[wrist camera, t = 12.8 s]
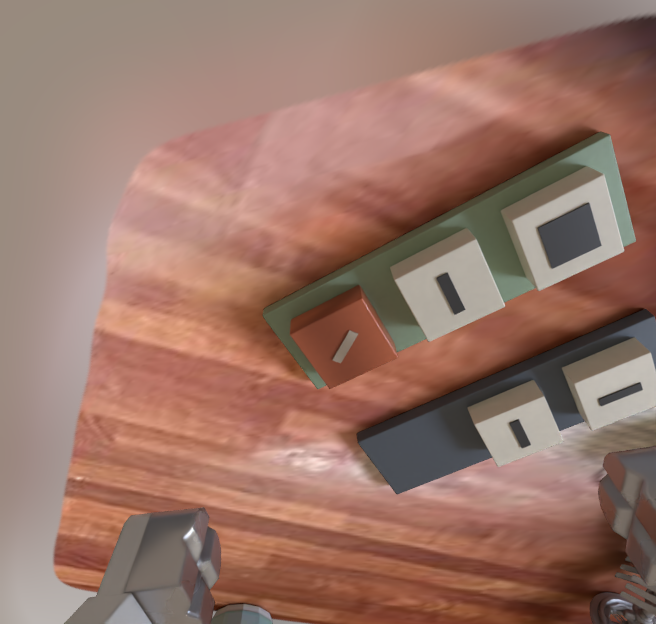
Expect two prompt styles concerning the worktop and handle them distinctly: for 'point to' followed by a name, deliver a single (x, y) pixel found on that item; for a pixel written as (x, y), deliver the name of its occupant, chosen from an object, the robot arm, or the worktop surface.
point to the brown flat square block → (343, 337)
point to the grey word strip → (454, 427)
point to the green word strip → (482, 251)
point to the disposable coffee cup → (241, 615)
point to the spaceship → (625, 602)
